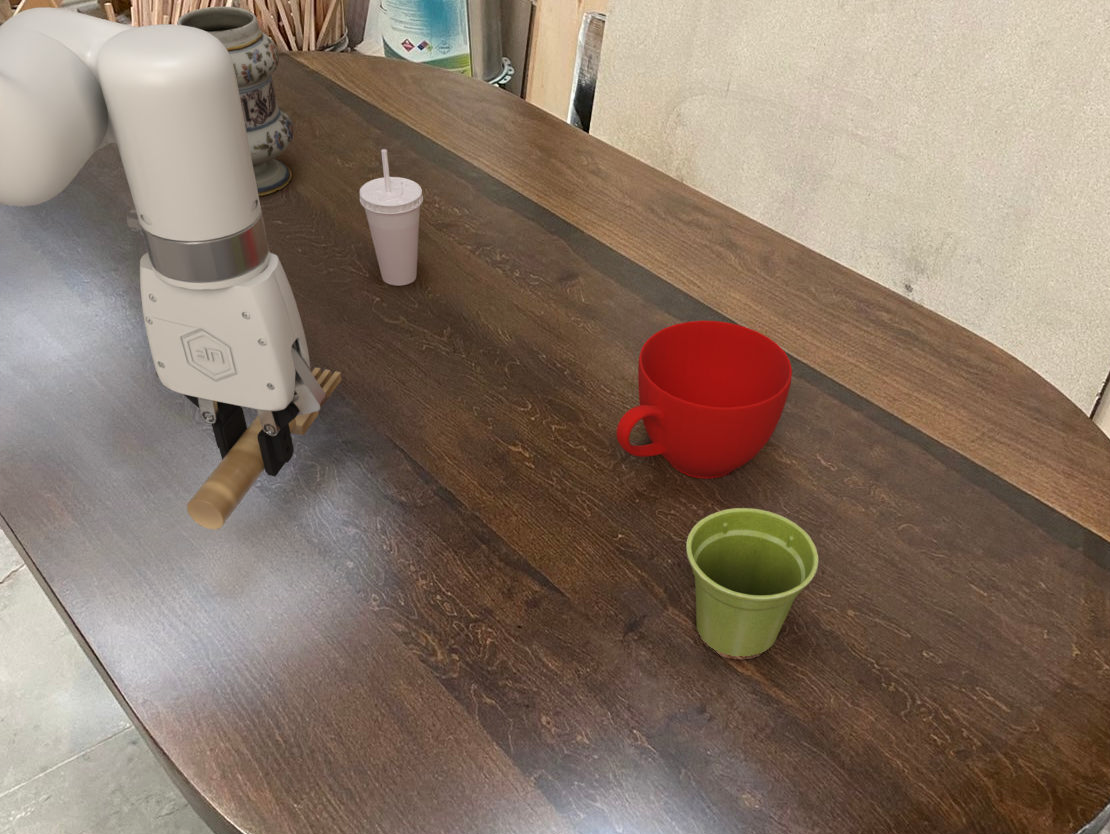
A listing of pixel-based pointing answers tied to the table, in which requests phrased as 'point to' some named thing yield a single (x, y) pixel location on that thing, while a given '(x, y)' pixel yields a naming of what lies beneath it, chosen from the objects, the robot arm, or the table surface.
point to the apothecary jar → (252, 88)
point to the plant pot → (747, 576)
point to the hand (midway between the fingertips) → (258, 458)
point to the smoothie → (393, 224)
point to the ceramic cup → (707, 396)
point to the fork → (245, 466)
